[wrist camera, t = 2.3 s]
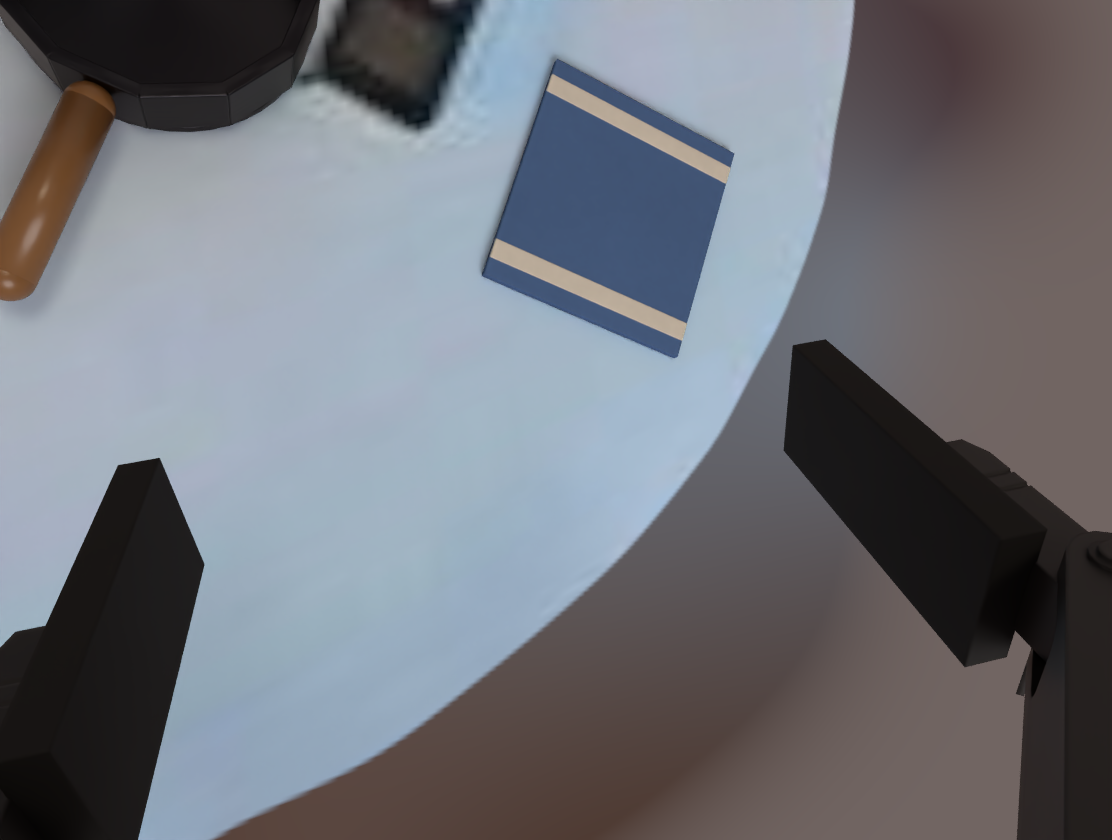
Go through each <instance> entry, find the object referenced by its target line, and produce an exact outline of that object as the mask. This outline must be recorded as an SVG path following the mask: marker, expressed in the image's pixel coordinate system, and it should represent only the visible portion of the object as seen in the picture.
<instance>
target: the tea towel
mask: <svg viewBox="0 0 1112 840" xmlns="http://www.w3.org/2000/svg"><path fill="white" fill-rule="evenodd" d="M733 156H734V153H732V152H730V151H729V150H727V149H725V148H723V147H721V146H719V145H717V144H716V143H714V142H712V141H710V140H708V139H706V138H704V137H702V136H701V135H699V134H697V133H695V132H693V131H691V130H689V129H687V128H686V127H684V126H682V125H680V124H678V123H676V122H674V121H673V120H671V119H669V118H667V117H665V116H663V115H661V114H659V113H658V112H656V111H654V110H652V109H650V108H648V107H646V106H644V105H643V104H641V103H639V102H637V101H635V100H633V99H631V98H630V97H628V96H626V95H624V94H622V93H620V92H618V91H616V90H615V89H613V88H611V87H609V86H607V85H605V84H603V83H601V82H600V81H598V80H596V79H594V78H592V77H590V76H588V75H587V74H585V73H583V72H581V71H579V70H577V69H575V68H573V67H572V66H570V65H568V64H566V63H564V62H562V61H560V60H558V59H557V60H556V61H555V63H554V65H553V68H552V71H551V74H550V77H549V80H548V83H547V86H546V89H545V92H544V95H543V98H542V101H541V104H540V107H539V109H538V112H537V115H536V118H535V121H534V124H533V127H532V130H531V133H530V136H529V139H528V142H527V145H526V148H525V151H524V153H523V156H522V159H521V162H520V165H519V168H518V171H517V174H516V177H515V180H514V183H513V186H512V189H511V192H510V194H509V197H508V200H507V203H506V206H505V209H504V212H503V215H502V218H501V221H500V224H499V227H498V230H497V233H496V236H495V238H494V241H493V244H492V247H491V250H490V253H489V256H488V259H487V262H486V265H485V268H484V271H483V274H482V276H483V277H486V278H488V279H490V280H493V281H495V282H497V283H500V284H502V285H504V286H507V287H509V288H511V289H514V290H516V291H518V292H521V293H523V294H525V295H528V296H530V297H532V298H535V299H537V300H539V301H542V302H544V303H546V304H549V305H551V306H553V307H556V308H558V309H560V310H563V311H565V312H567V313H570V314H572V315H574V316H577V317H579V318H581V319H584V320H586V321H588V322H591V323H593V324H595V325H598V326H600V327H602V328H605V329H607V330H609V331H612V332H614V333H616V334H619V335H621V336H623V337H626V338H628V339H630V340H633V341H635V342H637V343H640V344H642V345H644V346H647V347H649V348H651V349H654V350H656V351H658V352H661V353H663V354H665V355H668V356H670V357H672V358H676V357H677V356H678V353H679V349H680V346H681V342H682V340H683V336H684V333H685V329H686V325H687V321H688V317H689V314H690V310H691V307H692V303H693V299H694V296H695V292H696V289H697V285H698V282H699V278H700V274H701V271H702V267H703V264H704V260H705V256H706V253H707V249H708V246H709V242H710V239H711V235H712V231H713V228H714V224H715V221H716V217H717V214H718V210H719V206H720V203H721V199H722V196H723V192H724V189H725V185H726V182H727V179H728V175H729V172H730V167H731V164H732V160H733Z"/></svg>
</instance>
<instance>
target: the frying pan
mask: <svg viewBox="0 0 1112 840" xmlns="http://www.w3.org/2000/svg"><path fill="white" fill-rule="evenodd" d="M319 3H320V0H0V17H1V19H2V21H3V23H4V24H5V26H6V28H7V29H8V30H9V31H10V32H11V33H12V34H13V36H14V37H15V38H16V39H17V40H18V41H19V42H20V44H21V45H22V46H23V47H24V49H25V50H26V51H27V52H28V54H29V55H30V56H31V58H32V59H33V60H34V61H35V63H36V64H37V65H38V66H39V67H40V68H41V69H42V70H43V71H44V72H45V73H46V74H47V75H48V76H49V77H50V78H51V79H52V80H53V81H54V82H55V83H56V85H57V86H58V87H59V88H60V89H61V90H62V91H63V94H62V96H61V98H60V100H59V102H58V104H57V106H56V109H55V111H54V113H53V115H52V117H51V119H50V121H49V123H48V125H47V127H46V129H45V131H44V133H43V135H42V138H41V140H40V142H39V144H38V146H37V148H36V150H35V152H34V154H33V156H32V158H31V160H30V162H29V164H28V166H27V169H26V171H25V173H24V175H23V177H22V179H21V181H20V183H19V185H18V187H17V189H16V191H15V193H14V195H13V198H12V200H11V202H10V204H9V206H8V208H7V210H6V212H5V214H4V216H3V218H2V220H1V222H0V300H5V301H17V300H21V299H24V298H26V297H28V296H29V295H30V294H31V293H32V292H33V291H34V290H35V288H36V287H37V285H38V282H39V280H40V278H41V276H42V274H43V272H44V269H45V267H46V265H47V263H48V261H49V259H50V257H51V254H52V252H53V250H54V248H55V246H56V244H57V241H58V239H59V237H60V235H61V233H62V231H63V229H64V226H65V224H66V222H67V220H68V218H69V216H70V213H71V211H72V209H73V207H74V205H75V203H76V201H77V198H78V196H79V194H80V192H81V190H82V188H83V186H84V183H85V181H86V179H87V177H88V175H89V173H90V170H91V168H92V166H93V164H94V162H95V160H96V158H97V155H98V153H99V151H100V149H101V147H102V145H103V142H104V140H105V138H106V136H107V134H108V132H109V130H110V127H111V125H112V123H113V121H114V118H115V119H118V120H121V121H124V122H126V123H129V124H133V125H137V126H141V127H144V128H149V129H157V130H164V131H180V132H193V131H203V130H211V129H216V128H220V127H225V126H230V125H233V124H234V123H237V122H240V121H242V120H245V119H247V118H249V117H251V116H253V115H255V114H257V113H258V112H260V111H262V110H263V109H265V108H266V107H267V106H269V105H270V104H271V103H273V102H274V101H275V100H276V99H277V98H278V97H279V96H280V95H281V94H282V93H284V92H285V91H287V90H288V89H290V87H292V85H293V83H294V80H295V78H296V76H297V74H298V72H299V70H300V68H301V66H302V64H303V62H304V59H305V56H306V53H307V50H308V47H309V44H310V42H311V39H312V37H313V35H314V32H315V30H316V26H317V19H318V11H319Z"/></svg>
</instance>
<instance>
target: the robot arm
mask: <svg viewBox="0 0 1112 840" xmlns="http://www.w3.org/2000/svg"><path fill="white" fill-rule="evenodd" d="M784 451H785V453H786V454H787V455H788V456H789V457H790V459H791V460H792V461H793V462H794V463H795V465H796V466H797V467H798V468H799V469H800V470H801V472H802V473H803V474H804V475H805V477H806V478H807V479H808V480H809V481H810V482H811V484H812V485H813V486H814V487H815V488H816V490H817V491H818V492H819V493H820V494H821V495H822V497H823V498H824V499H825V500H826V502H827V503H828V504H829V505H830V506H831V507H832V509H833V510H834V511H835V512H836V514H837V515H838V516H839V517H840V518H841V520H842V521H843V522H844V523H845V524H846V526H847V527H848V528H849V529H850V530H851V532H852V533H853V534H854V535H855V536H856V538H857V539H858V540H859V541H860V542H861V544H862V545H863V546H864V547H865V548H866V550H867V551H868V552H869V553H870V554H871V555H872V556H873V558H874V559H875V560H876V561H877V563H878V564H879V565H880V566H881V567H882V569H883V570H884V571H885V572H886V573H887V575H888V576H889V577H890V578H891V579H892V581H893V582H894V583H895V584H896V585H897V586H898V588H899V589H900V590H901V591H902V593H903V594H904V595H905V596H906V597H907V599H908V600H909V601H910V602H911V603H912V605H913V606H914V607H915V608H916V609H917V610H918V612H919V613H920V614H921V615H922V617H923V618H924V619H925V620H926V621H927V622H928V624H929V625H930V626H931V627H932V629H933V630H934V631H935V632H936V633H937V635H938V636H939V637H940V638H941V639H942V640H943V642H944V643H945V644H946V645H947V647H948V648H949V649H950V650H951V651H952V652H953V654H954V655H955V656H956V657H957V658H958V660H959V661H960V662H961V663H962V664H963V666H964V667H968V666H972V665H976V664H980V663H984V662H988V661H992V660H996V659H1000V658H1005V657H1007V654H1008V651H1009V648H1010V645H1011V641H1012V638H1013V635H1014V632H1015V631H1016V632H1017V633H1018V634H1019V635H1020V636H1021V637H1022V638H1023V639H1024V640H1025V641H1026V642H1027V643H1028V644H1029V645H1030V647H1031V651H1030V654H1029V657H1028V660H1027V663H1026V666H1025V669H1024V672H1023V675H1022V678H1021V680H1020V684H1019V686H1018V689H1017V692H1016V694H1018V695H1021V696H1024V694H1025V702H1024V719H1023V738H1022V756H1021V774H1020V792H1019V812H1018V829H1017V840H1112V533H1108V532H1099V531H1092V532H1088V531H1086V530H1085V529H1084V528H1083V527H1081V526H1080V525H1079V524H1078V523H1076V522H1075V521H1074V520H1073V519H1071V518H1070V517H1069V516H1068V515H1067V514H1065V513H1064V512H1063V511H1062V510H1060V509H1059V508H1058V507H1057V506H1056V505H1054V504H1053V503H1052V502H1051V501H1049V500H1048V499H1047V498H1046V497H1044V496H1043V495H1042V494H1041V493H1039V492H1038V491H1037V490H1036V489H1035V488H1033V487H1032V486H1028V485H1027V482H1026V481H1025V480H1023V479H1022V478H1021V477H1020V476H1018V475H1017V474H1016V473H1015V472H1012V473H1011V471H1010V468H1009V467H1007V466H1006V465H1005V464H1003V463H1002V462H1001V461H1000V460H999V459H998V458H996V457H995V456H994V455H993V454H991V453H990V452H988V451H986V450H984V449H982V448H979V447H977V446H975V445H973V444H971V443H968V442H966V441H964V440H962V439H961V440H956V441H951V442H945V441H944V440H943V439H941V438H940V437H939V436H938V435H937V434H936V433H935V432H933V431H932V430H931V429H930V428H929V427H928V426H926V425H925V424H924V423H923V422H922V421H921V420H919V419H918V418H917V417H916V416H915V415H913V414H912V413H911V412H910V411H909V410H908V409H907V408H905V407H904V406H903V405H902V404H901V403H899V402H898V401H897V400H896V399H895V398H894V397H892V396H891V395H890V394H889V393H888V392H887V391H885V390H884V389H883V388H882V387H881V386H880V385H878V384H877V383H876V382H875V381H874V380H873V379H871V378H870V377H869V376H868V375H867V374H866V373H864V372H863V371H862V370H861V369H859V367H857V366H856V365H855V364H854V363H853V362H851V361H850V360H849V359H848V358H847V357H846V356H844V355H843V354H842V353H841V352H840V351H838V350H837V349H836V348H835V347H834V346H833V345H832V344H830V343H829V342H828V341H827V340H820V341H814V342H809V343H803V344H798V345H793V350H792V360H791V372H790V383H789V395H788V406H787V418H786V429H785V441H784ZM203 568H204V562H203V560H202V557H201V555H200V553H199V550H198V548H197V546H196V543H195V541H194V538H193V536H192V534H191V531H190V529H189V527H188V524H187V522H186V519H185V517H184V515H183V512H182V510H181V508H180V505H179V503H178V500H177V498H176V496H175V493H174V491H173V489H172V486H171V484H170V481H169V479H168V477H167V474H166V472H165V470H164V467H163V465H162V462H161V460H160V458H156V459H151V460H145V461H139V462H134V463H128V464H123V465H118V466H117V469H116V471H115V473H114V475H113V478H112V480H111V482H110V484H109V486H108V489H107V491H106V493H105V495H104V498H103V500H102V502H101V504H100V506H99V509H98V511H97V513H96V515H95V517H94V520H93V522H92V524H91V526H90V529H89V531H88V533H87V535H86V537H85V540H84V542H83V544H82V546H81V548H80V551H79V553H78V555H77V557H76V560H75V562H74V564H73V566H72V568H71V571H70V573H69V575H68V577H67V580H66V582H65V584H64V586H63V588H62V591H61V593H60V595H59V597H58V599H57V602H56V604H55V606H54V608H53V611H52V613H51V615H50V617H49V619H48V622H47V624H46V626H42V627H37V628H32V629H27V630H22V631H17V632H15V633H14V634H13V635H12V636H11V637H10V638H9V639H8V640H7V641H6V642H5V643H4V644H3V645H2V646H1V647H0V840H138V837H139V833H140V829H141V825H142V821H143V816H144V812H145V808H146V804H147V800H148V796H149V792H150V787H151V783H152V779H153V775H154V771H155V767H156V763H157V758H158V754H159V750H160V746H161V742H162V738H163V734H164V730H165V725H166V721H167V717H168V713H169V709H170V705H171V701H172V696H173V692H174V688H175V684H176V680H177V676H178V672H179V668H180V663H181V659H182V655H183V651H184V647H185V643H186V639H187V634H188V630H189V626H190V622H191V618H192V614H193V610H194V605H195V601H196V597H197V593H198V589H199V585H200V581H201V577H202V572H203Z"/></svg>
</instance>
